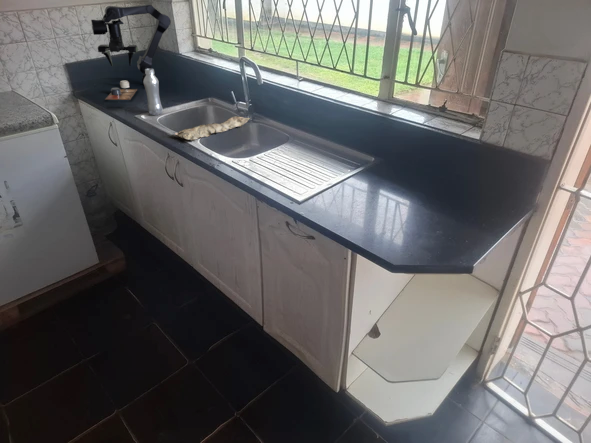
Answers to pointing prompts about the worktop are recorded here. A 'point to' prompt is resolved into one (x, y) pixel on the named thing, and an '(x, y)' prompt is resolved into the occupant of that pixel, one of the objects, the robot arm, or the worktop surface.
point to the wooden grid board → (122, 95)
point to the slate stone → (115, 91)
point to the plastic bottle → (152, 92)
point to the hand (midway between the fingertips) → (121, 65)
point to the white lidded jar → (124, 84)
